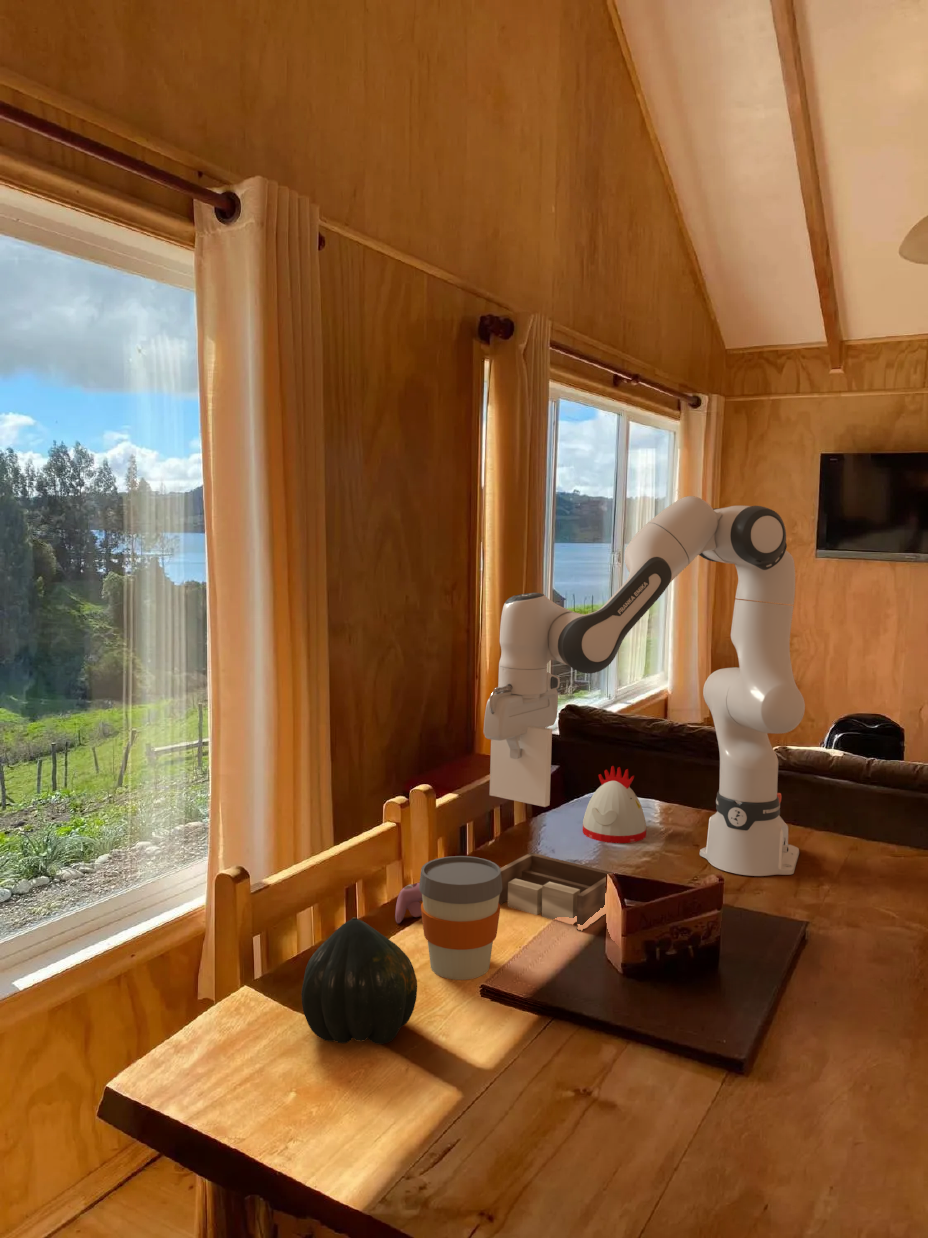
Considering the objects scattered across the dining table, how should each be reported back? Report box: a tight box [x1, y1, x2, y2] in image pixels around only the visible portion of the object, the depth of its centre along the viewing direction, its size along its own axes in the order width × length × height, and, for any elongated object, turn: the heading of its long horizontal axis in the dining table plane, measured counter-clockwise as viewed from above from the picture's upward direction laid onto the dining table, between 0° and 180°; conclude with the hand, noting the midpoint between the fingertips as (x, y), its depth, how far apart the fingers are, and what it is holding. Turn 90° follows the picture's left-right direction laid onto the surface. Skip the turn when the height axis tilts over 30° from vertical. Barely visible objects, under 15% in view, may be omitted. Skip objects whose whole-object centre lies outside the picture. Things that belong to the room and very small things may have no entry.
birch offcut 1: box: [507, 878, 542, 916], centre depth 161 cm, size 2×6×4 cm, turn 54°
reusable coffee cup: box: [419, 855, 502, 981], centre depth 139 cm, size 13×13×15 cm
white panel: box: [489, 726, 553, 808], centre depth 169 cm, size 2×12×14 cm, turn 54°
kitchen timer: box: [582, 765, 647, 844], centre depth 203 cm, size 14×14×15 cm
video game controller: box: [394, 882, 423, 924], centre depth 156 cm, size 10×5×7 cm, turn 85°
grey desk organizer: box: [498, 852, 619, 925], centre depth 162 cm, size 13×18×6 cm
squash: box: [300, 916, 418, 1045], centre depth 121 cm, size 14×15×15 cm
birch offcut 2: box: [541, 882, 580, 921], centre depth 157 cm, size 2×6×6 cm, turn 54°
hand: (520, 756), depth 169 cm, fingers closed on white panel, 2 cm apart
